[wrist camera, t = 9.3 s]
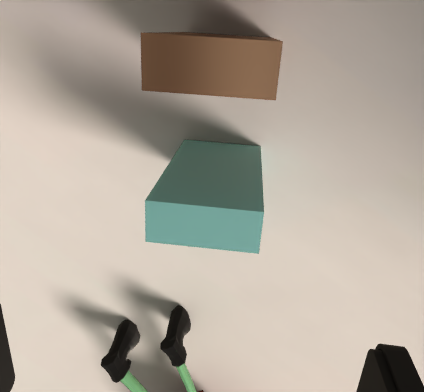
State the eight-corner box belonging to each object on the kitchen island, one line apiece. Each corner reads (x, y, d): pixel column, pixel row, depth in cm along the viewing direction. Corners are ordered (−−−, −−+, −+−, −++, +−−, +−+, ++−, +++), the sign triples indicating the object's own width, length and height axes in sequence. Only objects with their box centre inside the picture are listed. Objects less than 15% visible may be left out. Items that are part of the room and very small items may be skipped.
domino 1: (271, 37, 22) (282, 41, 13) (267, 73, 23) (275, 100, 14) (186, 32, 23) (140, 32, 14) (185, 67, 24) (141, 90, 14)
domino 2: (260, 146, 25) (264, 212, 16) (257, 174, 26) (258, 253, 17) (184, 139, 25) (145, 200, 16) (183, 168, 26) (145, 241, 17)
